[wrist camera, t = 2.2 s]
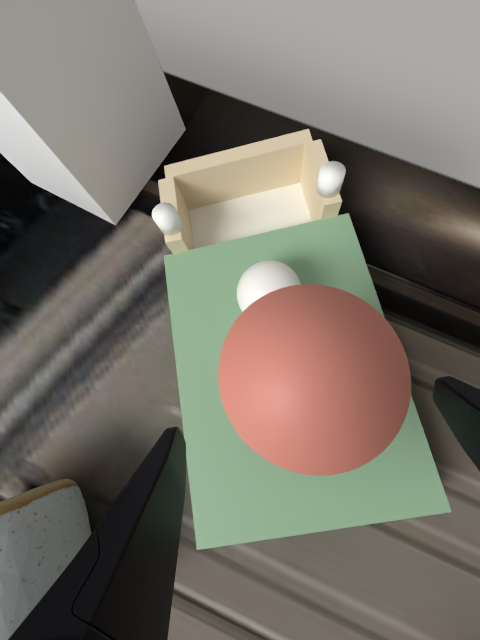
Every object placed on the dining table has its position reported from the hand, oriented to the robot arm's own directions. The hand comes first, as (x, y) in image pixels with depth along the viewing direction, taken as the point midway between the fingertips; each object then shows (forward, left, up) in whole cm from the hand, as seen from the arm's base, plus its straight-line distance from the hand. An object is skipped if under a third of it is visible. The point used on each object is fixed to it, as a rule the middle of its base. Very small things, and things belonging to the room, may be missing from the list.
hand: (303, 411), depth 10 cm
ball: (+6, -3, -6) cm, 9 cm away
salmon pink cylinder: (+1, 0, -8) cm, 8 cm away
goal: (+13, -7, -10) cm, 18 cm away
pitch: (+2, -1, -10) cm, 11 cm away
